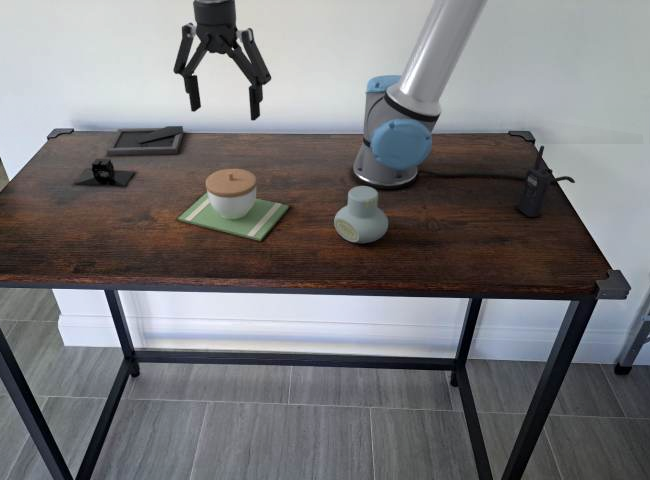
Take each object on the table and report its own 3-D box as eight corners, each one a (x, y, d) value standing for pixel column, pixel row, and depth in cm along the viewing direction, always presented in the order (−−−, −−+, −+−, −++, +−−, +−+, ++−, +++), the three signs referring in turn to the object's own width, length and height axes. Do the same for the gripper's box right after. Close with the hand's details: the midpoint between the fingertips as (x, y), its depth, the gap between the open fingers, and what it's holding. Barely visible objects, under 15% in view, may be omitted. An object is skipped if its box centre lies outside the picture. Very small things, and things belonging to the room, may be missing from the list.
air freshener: (393, 239, 114) (398, 196, 107) (364, 254, 110) (368, 211, 103) (355, 217, 120) (358, 175, 114) (327, 231, 116) (328, 188, 110)
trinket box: (261, 200, 125) (259, 162, 119) (254, 226, 117) (251, 186, 111) (214, 198, 126) (210, 160, 120) (204, 224, 118) (199, 185, 112)
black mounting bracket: (75, 185, 134) (70, 167, 131) (87, 170, 139) (82, 153, 136) (125, 186, 133) (120, 169, 130) (135, 172, 138) (131, 154, 135)
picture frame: (183, 132, 156) (119, 134, 156) (182, 125, 154) (117, 127, 154) (176, 154, 145) (107, 155, 145) (175, 147, 144) (106, 148, 144)
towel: (288, 208, 124) (288, 205, 123) (260, 241, 114) (260, 238, 114) (211, 190, 130) (211, 187, 130) (178, 220, 121) (177, 217, 120)
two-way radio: (513, 207, 122) (531, 143, 113) (530, 203, 123) (549, 139, 114) (530, 220, 118) (550, 155, 109) (547, 215, 119) (568, 151, 110)
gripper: (286, -3, 98) (289, 114, 111) (165, -11, 106) (182, 99, 119) (268, 8, 93) (273, 129, 106) (143, -2, 101) (163, 112, 114)
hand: (225, 113), depth 113 cm, fingers open, 13 cm apart
